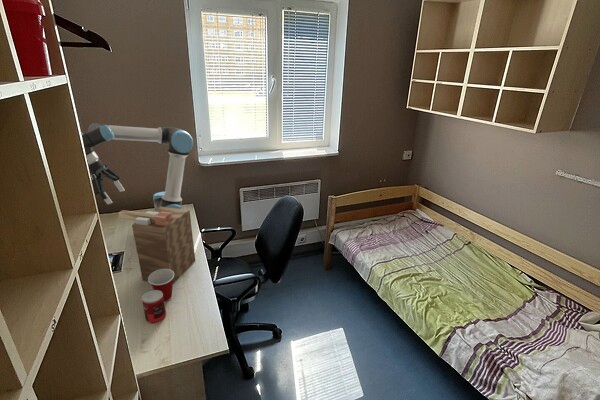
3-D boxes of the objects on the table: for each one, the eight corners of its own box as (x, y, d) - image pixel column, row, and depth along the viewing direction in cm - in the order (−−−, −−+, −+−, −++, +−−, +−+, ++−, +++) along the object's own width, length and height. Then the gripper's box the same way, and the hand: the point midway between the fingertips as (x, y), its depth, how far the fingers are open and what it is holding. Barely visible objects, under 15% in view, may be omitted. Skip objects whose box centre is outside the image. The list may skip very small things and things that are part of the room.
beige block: (126, 214, 158) (124, 207, 157) (173, 220, 153) (171, 212, 152) (117, 219, 153) (115, 212, 151) (165, 225, 148) (164, 217, 146)
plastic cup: (151, 308, 141) (146, 285, 137) (152, 293, 151) (148, 271, 146) (177, 303, 145) (174, 280, 140) (177, 288, 154) (174, 266, 150)
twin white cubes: (148, 215, 158) (148, 210, 157) (160, 217, 156) (159, 212, 155) (135, 224, 149) (134, 219, 148) (147, 225, 148) (146, 220, 147)
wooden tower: (168, 256, 179) (161, 206, 168) (195, 260, 176) (189, 209, 165) (142, 280, 159) (131, 225, 148) (172, 285, 156) (163, 229, 145)
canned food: (149, 311, 140) (145, 290, 135) (168, 310, 140) (165, 289, 136) (142, 324, 132) (138, 302, 128) (163, 323, 133) (159, 301, 129)
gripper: (98, 155, 176) (121, 188, 186) (70, 174, 154) (98, 211, 164) (110, 150, 175) (133, 184, 185) (83, 169, 153) (110, 206, 163)
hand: (116, 197), depth 174 cm, fingers open, 13 cm apart
